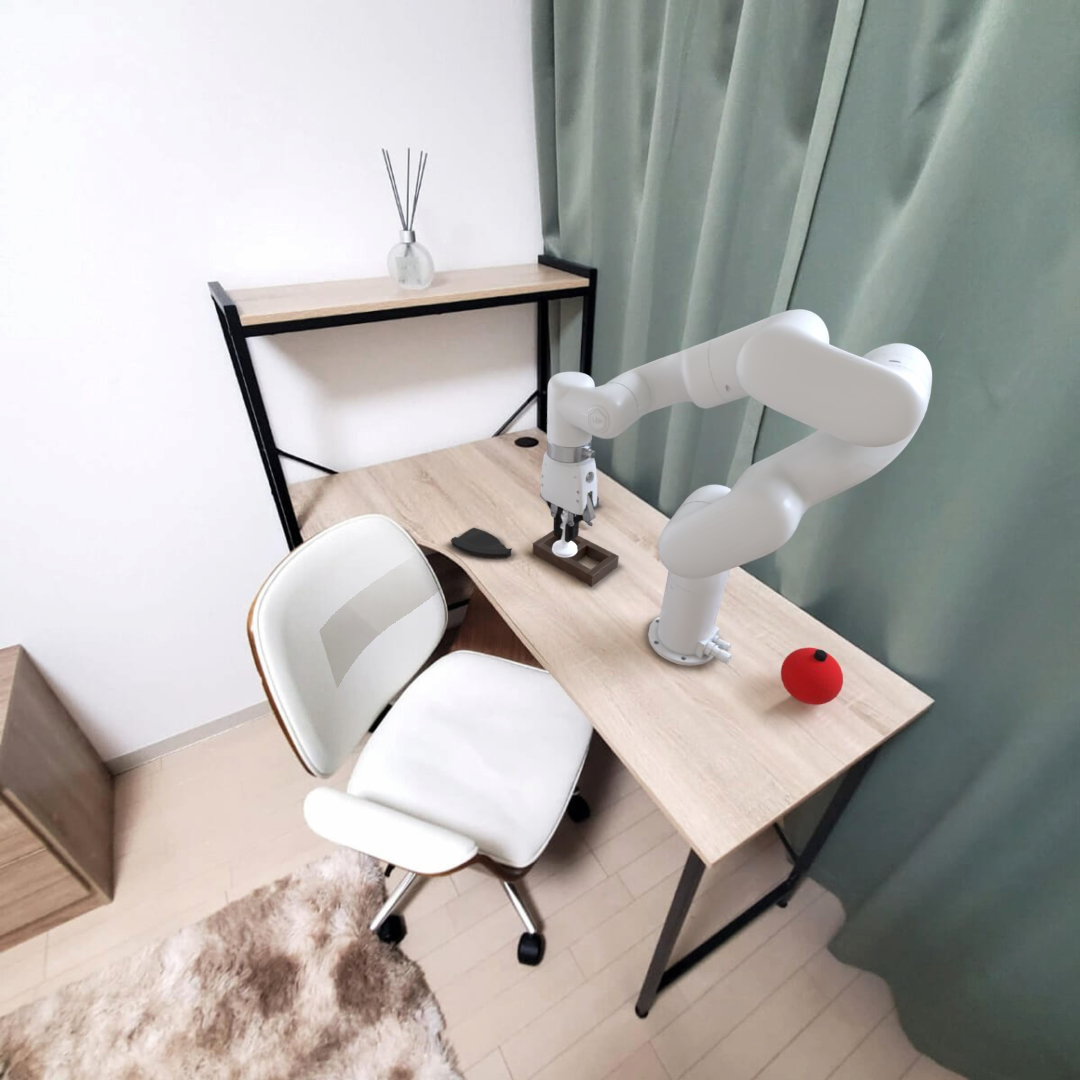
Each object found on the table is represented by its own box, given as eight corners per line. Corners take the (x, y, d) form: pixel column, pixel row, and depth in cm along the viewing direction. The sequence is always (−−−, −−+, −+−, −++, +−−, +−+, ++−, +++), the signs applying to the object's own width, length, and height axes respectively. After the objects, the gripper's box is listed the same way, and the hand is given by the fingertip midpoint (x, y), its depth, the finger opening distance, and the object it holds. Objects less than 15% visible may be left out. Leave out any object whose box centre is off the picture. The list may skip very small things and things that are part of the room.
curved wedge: (493, 569, 115) (493, 563, 114) (449, 546, 122) (448, 540, 121) (518, 550, 120) (517, 544, 119) (474, 529, 127) (474, 524, 126)
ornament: (766, 696, 88) (782, 655, 82) (785, 664, 93) (801, 623, 88) (823, 726, 83) (844, 685, 77) (839, 690, 89) (860, 649, 83)
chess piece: (582, 549, 103) (585, 506, 97) (566, 561, 100) (568, 517, 94) (563, 539, 106) (565, 496, 100) (546, 550, 103) (547, 506, 97)
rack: (617, 566, 116) (618, 555, 114) (591, 587, 110) (592, 576, 108) (559, 536, 125) (559, 526, 123) (532, 554, 119) (532, 543, 118)
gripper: (620, 455, 88) (611, 544, 99) (548, 428, 97) (547, 512, 107) (592, 471, 83) (586, 562, 94) (519, 441, 92) (521, 528, 103)
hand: (565, 535), depth 101 cm, fingers closed on chess piece
